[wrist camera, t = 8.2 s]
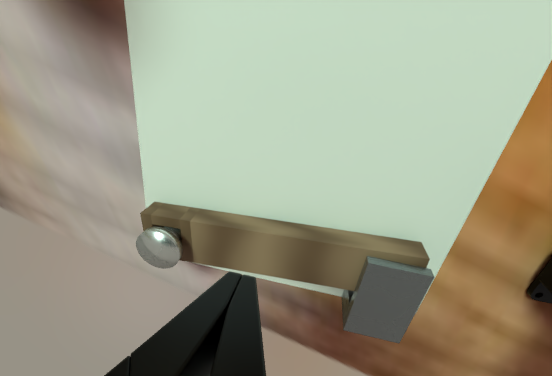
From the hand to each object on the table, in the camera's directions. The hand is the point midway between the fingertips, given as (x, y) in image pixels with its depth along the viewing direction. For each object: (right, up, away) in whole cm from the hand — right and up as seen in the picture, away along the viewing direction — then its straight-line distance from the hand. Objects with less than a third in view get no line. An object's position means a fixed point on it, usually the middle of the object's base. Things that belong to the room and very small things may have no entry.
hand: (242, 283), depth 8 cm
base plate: (+3, +5, +11) cm, 12 cm away
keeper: (+9, -3, +13) cm, 17 cm away
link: (+1, -1, +13) cm, 13 cm away
